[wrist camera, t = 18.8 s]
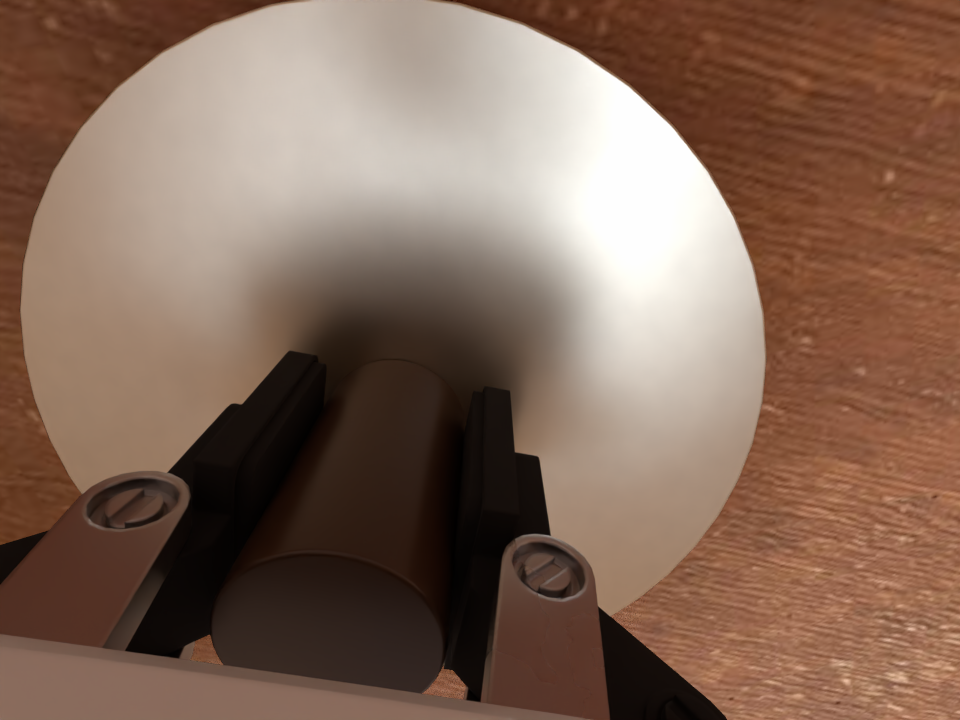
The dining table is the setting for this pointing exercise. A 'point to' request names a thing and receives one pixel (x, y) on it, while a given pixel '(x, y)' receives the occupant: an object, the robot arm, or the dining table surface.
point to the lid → (396, 308)
